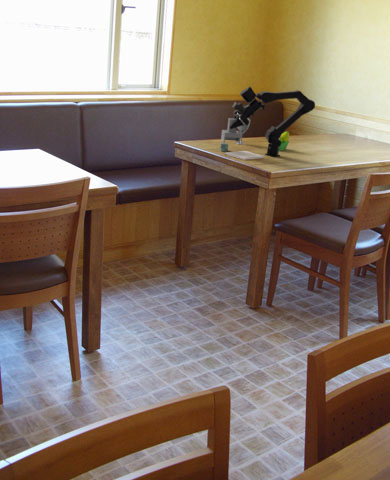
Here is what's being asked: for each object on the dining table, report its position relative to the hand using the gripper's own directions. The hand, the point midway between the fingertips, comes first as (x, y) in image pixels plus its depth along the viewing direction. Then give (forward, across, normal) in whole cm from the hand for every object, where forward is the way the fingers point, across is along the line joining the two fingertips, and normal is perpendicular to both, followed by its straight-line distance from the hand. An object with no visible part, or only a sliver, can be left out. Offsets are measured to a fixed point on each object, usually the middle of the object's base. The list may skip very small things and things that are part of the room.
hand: (229, 127), depth 335 cm
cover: (+4, 0, +6) cm, 8 cm away
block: (+10, -4, +9) cm, 14 cm away
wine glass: (0, -31, +20) cm, 37 cm away
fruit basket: (-16, -21, +36) cm, 44 cm away
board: (+4, +8, +16) cm, 18 cm away
